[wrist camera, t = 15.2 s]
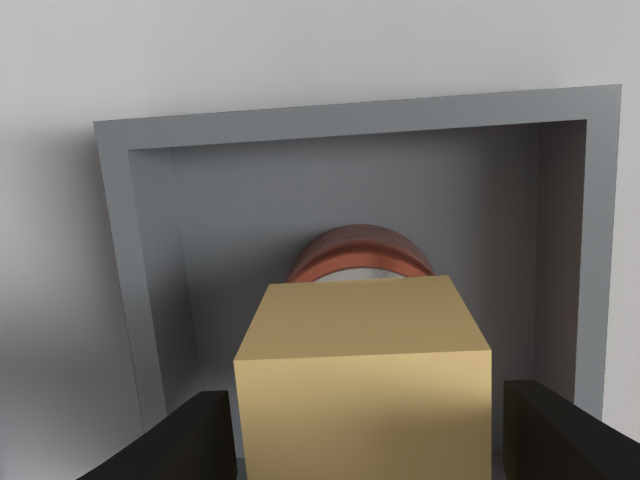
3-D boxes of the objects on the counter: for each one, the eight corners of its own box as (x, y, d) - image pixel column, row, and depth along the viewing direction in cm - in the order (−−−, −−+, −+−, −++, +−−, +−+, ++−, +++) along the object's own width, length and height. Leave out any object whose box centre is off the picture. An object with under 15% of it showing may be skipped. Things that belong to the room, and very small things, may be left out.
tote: (196, 468, 21) (162, 548, 18) (148, 118, 18) (93, 121, 14) (548, 460, 21) (594, 542, 17) (561, 88, 17) (621, 83, 13)
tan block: (284, 440, 15) (258, 570, 11) (269, 284, 14) (233, 360, 10) (451, 435, 15) (491, 567, 11) (448, 274, 14) (491, 350, 9)
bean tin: (288, 371, 20) (271, 449, 15) (278, 227, 18) (255, 265, 14) (439, 368, 19) (465, 446, 15) (438, 220, 18) (467, 257, 14)
